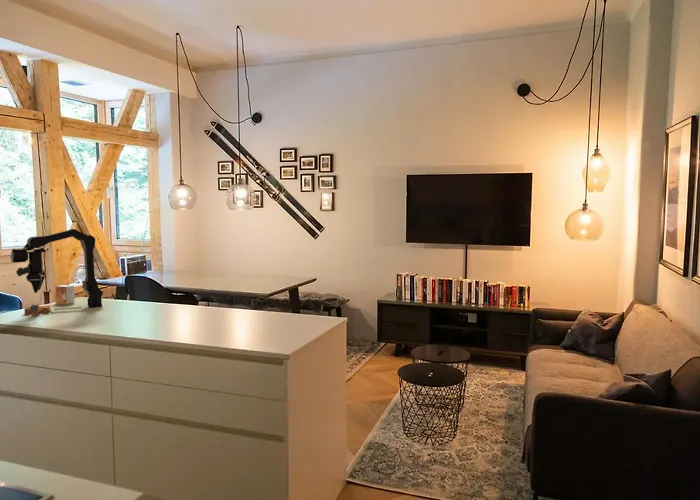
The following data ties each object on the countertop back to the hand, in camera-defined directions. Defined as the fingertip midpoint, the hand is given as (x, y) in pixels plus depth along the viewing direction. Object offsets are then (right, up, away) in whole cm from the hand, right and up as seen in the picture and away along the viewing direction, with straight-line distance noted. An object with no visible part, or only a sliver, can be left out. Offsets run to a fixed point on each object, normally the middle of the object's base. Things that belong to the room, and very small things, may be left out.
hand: (37, 291), depth 258 cm
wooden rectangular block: (0, -11, +1) cm, 11 cm away
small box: (-1, -10, +28) cm, 30 cm away
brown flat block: (0, -12, 0) cm, 12 cm away
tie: (+4, -8, -9) cm, 13 cm away
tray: (+12, -11, +7) cm, 18 cm away
